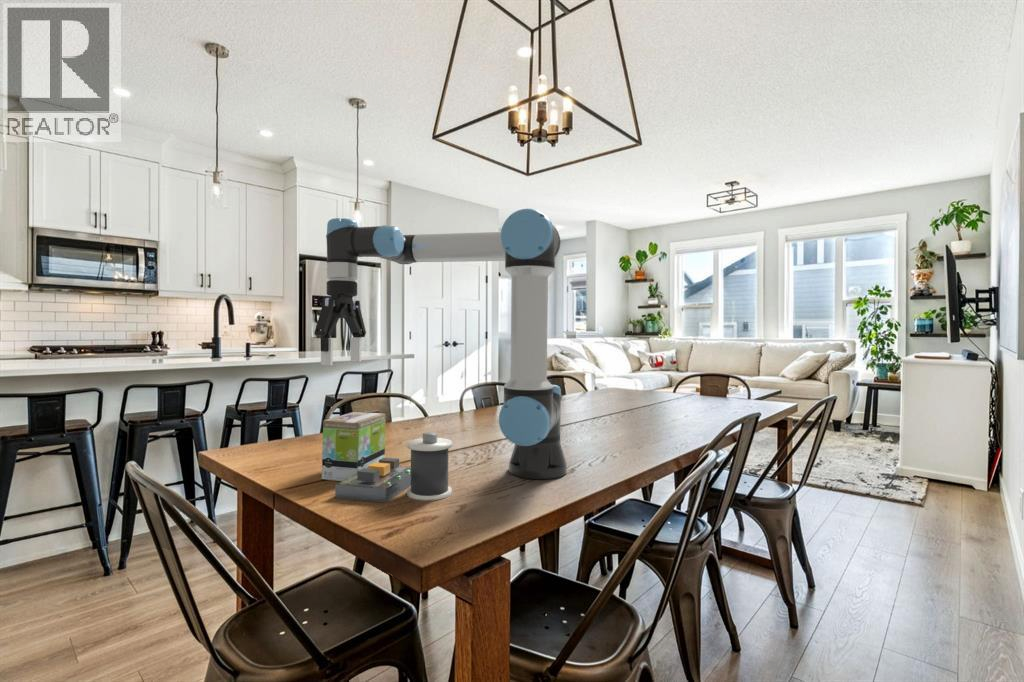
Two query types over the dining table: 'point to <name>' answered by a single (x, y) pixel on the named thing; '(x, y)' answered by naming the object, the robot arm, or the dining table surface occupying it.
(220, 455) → the dining table surface
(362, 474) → the paddle
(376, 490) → the breaker strip
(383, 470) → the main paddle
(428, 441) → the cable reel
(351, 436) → the tea box
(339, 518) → the dining table surface
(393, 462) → the paddle
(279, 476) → the dining table surface
